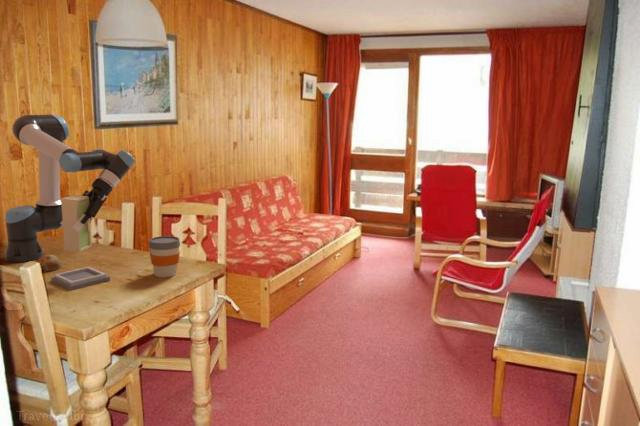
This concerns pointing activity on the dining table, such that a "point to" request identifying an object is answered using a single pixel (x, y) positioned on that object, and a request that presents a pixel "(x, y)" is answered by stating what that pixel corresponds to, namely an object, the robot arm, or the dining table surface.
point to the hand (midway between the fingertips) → (69, 227)
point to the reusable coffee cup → (164, 255)
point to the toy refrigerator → (70, 215)
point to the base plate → (79, 278)
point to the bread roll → (49, 263)
